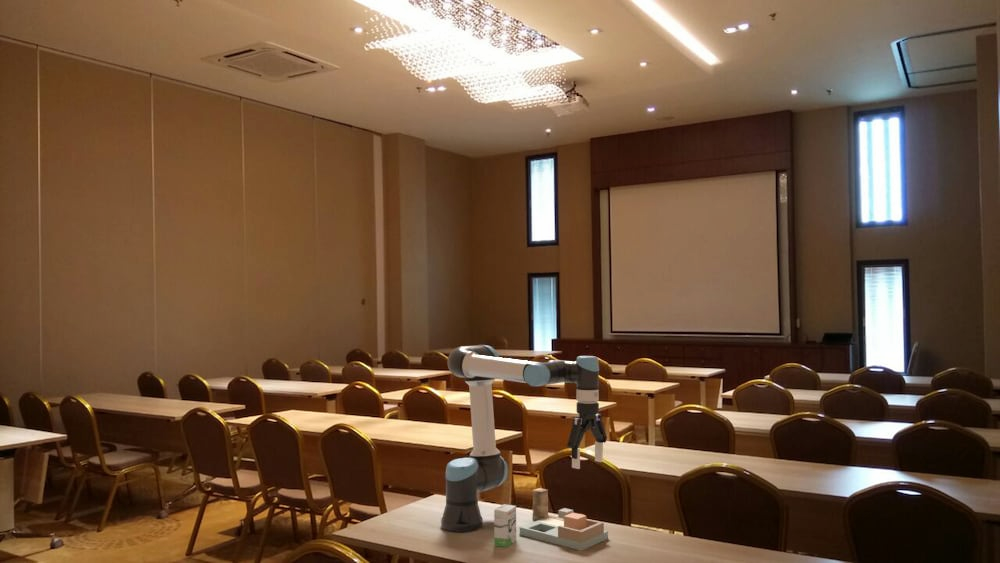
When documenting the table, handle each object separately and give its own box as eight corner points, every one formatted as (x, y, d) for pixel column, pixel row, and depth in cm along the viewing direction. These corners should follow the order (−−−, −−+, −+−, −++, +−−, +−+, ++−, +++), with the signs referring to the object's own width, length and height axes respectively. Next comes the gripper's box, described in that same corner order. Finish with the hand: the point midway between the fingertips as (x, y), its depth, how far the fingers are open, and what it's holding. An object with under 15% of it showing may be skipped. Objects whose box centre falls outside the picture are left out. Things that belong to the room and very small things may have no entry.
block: (563, 532, 247) (563, 516, 247) (573, 528, 251) (573, 512, 251) (577, 535, 243) (577, 519, 243) (586, 531, 247) (586, 515, 247)
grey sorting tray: (519, 534, 253) (519, 517, 253) (547, 523, 265) (547, 507, 265) (581, 550, 236) (581, 532, 236) (608, 538, 248) (607, 520, 248)
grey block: (558, 521, 268) (558, 510, 268) (564, 518, 271) (564, 508, 271) (567, 523, 266) (567, 512, 266) (573, 520, 269) (573, 510, 269)
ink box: (507, 547, 239) (507, 511, 239) (493, 545, 241) (493, 510, 241) (516, 540, 247) (516, 505, 247) (503, 538, 249) (503, 503, 249)
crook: (530, 519, 270) (530, 489, 271) (545, 513, 277) (545, 484, 278) (569, 528, 259) (569, 497, 259) (584, 522, 266) (584, 492, 266)
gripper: (575, 406, 234) (575, 473, 233) (616, 399, 253) (616, 460, 252) (556, 404, 239) (556, 469, 238) (598, 397, 258) (598, 457, 257)
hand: (587, 464), depth 245 cm, fingers open, 13 cm apart
